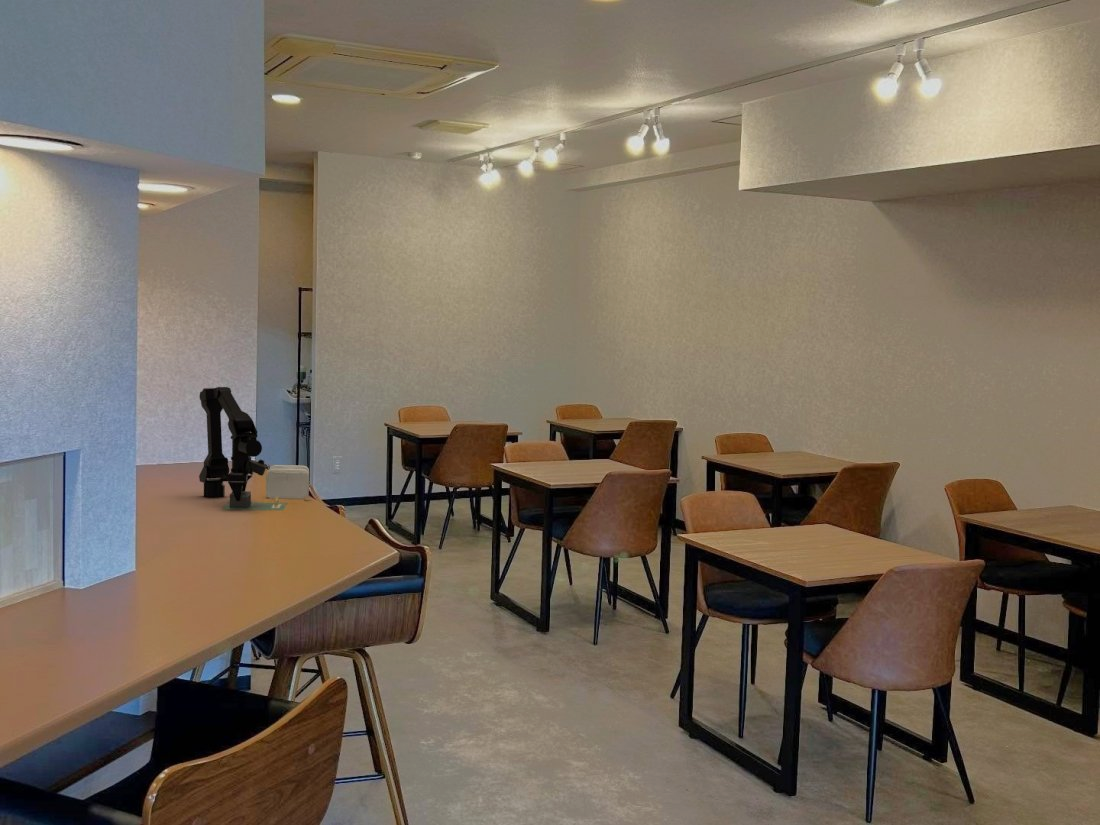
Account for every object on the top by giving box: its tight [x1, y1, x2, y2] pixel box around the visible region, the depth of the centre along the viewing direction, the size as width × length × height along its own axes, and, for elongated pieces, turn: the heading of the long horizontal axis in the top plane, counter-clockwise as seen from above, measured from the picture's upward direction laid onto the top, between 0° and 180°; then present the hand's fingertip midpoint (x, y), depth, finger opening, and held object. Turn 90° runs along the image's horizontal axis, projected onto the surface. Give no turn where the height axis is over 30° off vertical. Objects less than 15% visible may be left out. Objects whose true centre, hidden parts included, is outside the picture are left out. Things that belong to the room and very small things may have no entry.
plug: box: [229, 490, 252, 508], centre depth 349 cm, size 6×7×4 cm
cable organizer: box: [265, 464, 310, 500], centre depth 372 cm, size 15×11×12 cm
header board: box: [221, 496, 288, 511], centre depth 350 cm, size 20×14×4 cm
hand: (240, 498), depth 349 cm, fingers open, 9 cm apart
